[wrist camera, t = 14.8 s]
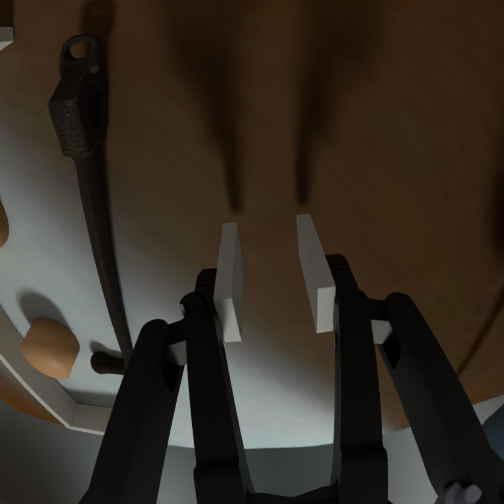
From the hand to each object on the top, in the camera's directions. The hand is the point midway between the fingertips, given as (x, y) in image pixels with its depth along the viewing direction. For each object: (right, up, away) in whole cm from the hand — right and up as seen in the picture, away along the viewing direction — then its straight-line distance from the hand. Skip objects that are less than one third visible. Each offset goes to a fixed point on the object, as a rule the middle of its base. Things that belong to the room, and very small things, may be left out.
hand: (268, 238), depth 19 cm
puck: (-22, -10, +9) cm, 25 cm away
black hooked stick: (-13, 0, +3) cm, 13 cm away
